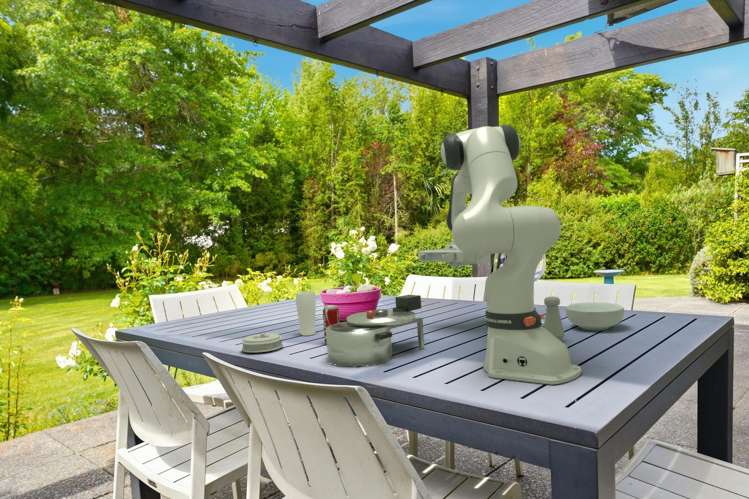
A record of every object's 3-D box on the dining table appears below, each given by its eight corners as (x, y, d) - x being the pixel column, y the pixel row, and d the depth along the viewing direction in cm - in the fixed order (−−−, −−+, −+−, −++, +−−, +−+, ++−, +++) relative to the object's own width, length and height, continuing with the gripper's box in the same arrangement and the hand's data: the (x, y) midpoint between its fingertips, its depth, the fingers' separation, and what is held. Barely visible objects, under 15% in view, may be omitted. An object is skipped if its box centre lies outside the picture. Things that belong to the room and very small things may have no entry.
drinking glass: (320, 332, 184) (317, 290, 184) (314, 336, 178) (311, 293, 177) (302, 332, 186) (299, 291, 185) (295, 336, 179) (292, 294, 178)
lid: (280, 353, 156) (279, 337, 156) (238, 357, 156) (237, 340, 155) (285, 344, 169) (284, 329, 169) (246, 347, 168) (245, 332, 168)
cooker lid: (440, 314, 153) (439, 296, 152) (380, 329, 135) (379, 309, 135) (392, 309, 167) (391, 293, 167) (332, 322, 150) (331, 304, 150)
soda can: (338, 345, 162) (336, 307, 162) (322, 345, 163) (320, 307, 163) (343, 341, 167) (340, 304, 167) (327, 341, 168) (325, 305, 168)
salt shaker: (545, 338, 152) (543, 295, 152) (566, 339, 150) (564, 295, 149) (541, 343, 147) (539, 298, 147) (562, 344, 145) (560, 298, 144)
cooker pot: (432, 349, 148) (430, 318, 148) (363, 372, 129) (361, 336, 129) (378, 340, 164) (376, 312, 164) (310, 359, 146) (308, 328, 145)
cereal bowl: (556, 330, 164) (555, 308, 163) (581, 321, 175) (580, 300, 174) (610, 336, 151) (609, 312, 151) (633, 326, 162) (632, 304, 162)
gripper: (432, 245, 182) (406, 248, 173) (481, 244, 167) (455, 247, 158) (433, 262, 183) (407, 267, 173) (482, 263, 168) (456, 268, 158)
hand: (430, 257), depth 165 cm, fingers open, 8 cm apart
